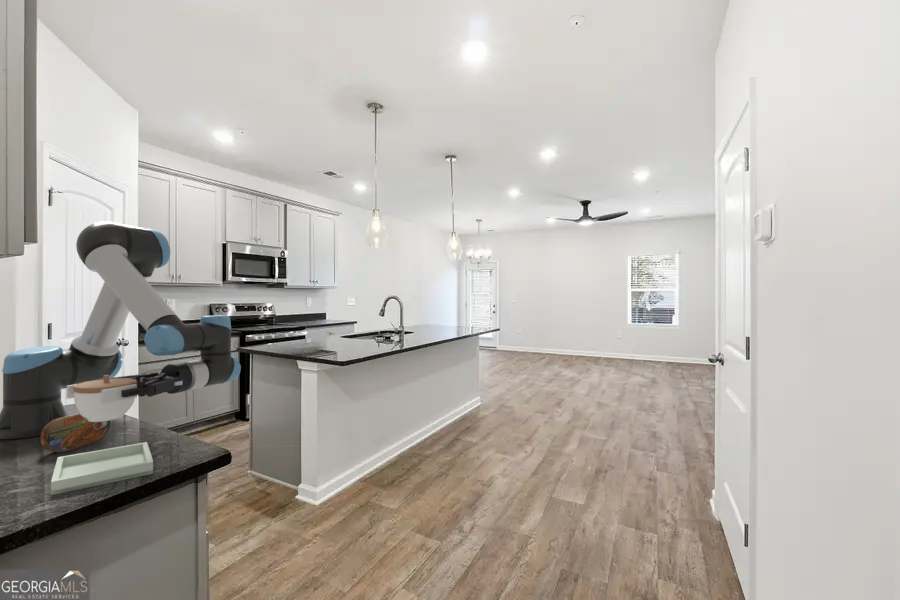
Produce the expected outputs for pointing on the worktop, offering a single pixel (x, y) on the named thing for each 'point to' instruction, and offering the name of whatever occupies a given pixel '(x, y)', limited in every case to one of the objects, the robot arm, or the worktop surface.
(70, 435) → the tin
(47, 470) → the worktop surface
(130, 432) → the worktop surface
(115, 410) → the lidded jar
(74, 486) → the tray
